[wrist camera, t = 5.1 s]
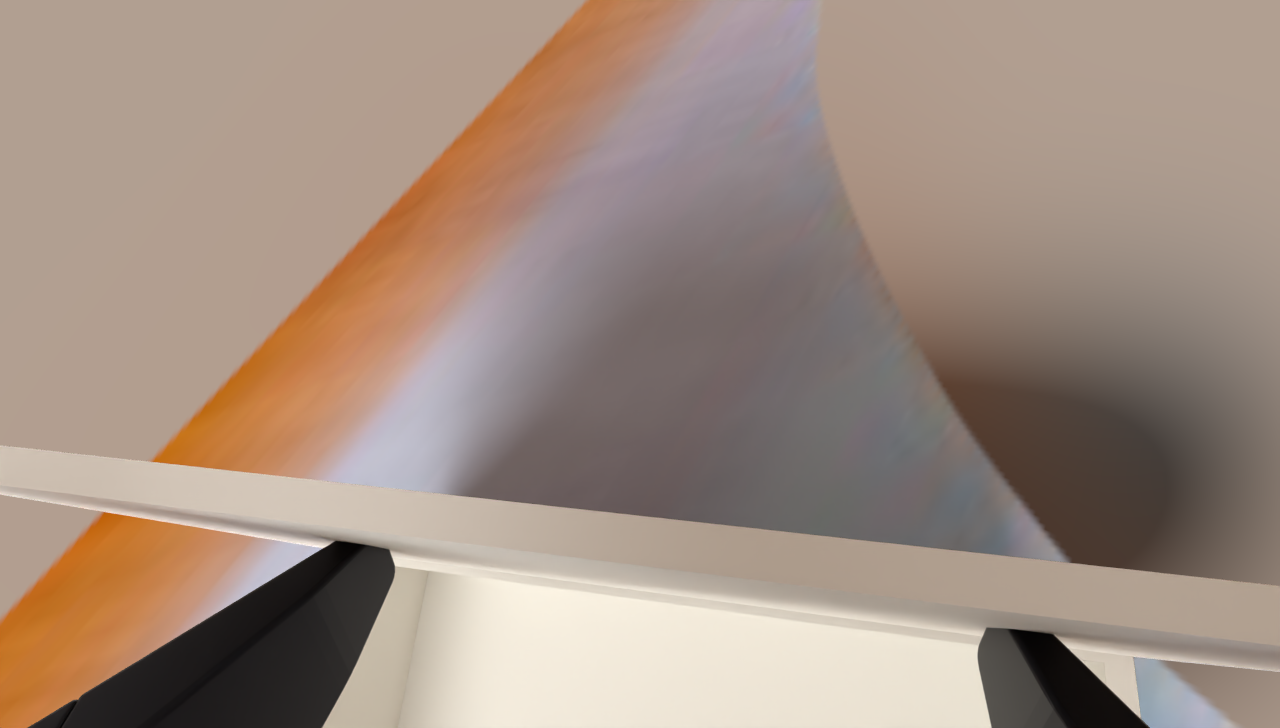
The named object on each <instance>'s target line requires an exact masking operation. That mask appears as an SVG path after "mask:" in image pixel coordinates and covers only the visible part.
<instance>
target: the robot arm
mask: <svg viewBox="0 0 1280 728" xmlns="http://www.w3.org/2000/svg"><path fill="white" fill-rule="evenodd" d="M394 576H395V564H394V561H393V558H392V555H391V552H390V550H389V549H385V548H380V547H375V546H370V545H364V544H357V543H350V542H342V541H334V542H333V543H331V544H329V545H328V546H326V547H325V548H323V549H321V550H320V551H318V552H316V553H315V554H313V555H311V556H310V557H308V558H306V559H305V560H303V561H301V562H300V563H298V564H297V565H295V566H293V567H292V568H290V569H288V570H287V571H285V572H283V573H282V574H280V575H278V576H277V577H275V578H274V579H272V580H270V581H269V582H267V583H265V584H264V585H262V586H260V587H259V588H257V589H255V590H254V591H252V592H251V593H249V594H247V595H246V596H244V597H242V598H241V599H239V600H237V601H236V602H234V603H232V604H231V605H229V606H227V607H226V608H224V609H223V610H221V611H219V612H218V613H216V614H214V615H213V616H211V617H209V618H208V619H206V620H204V621H203V622H201V623H200V624H198V625H196V626H195V627H193V628H191V629H190V630H188V631H186V632H185V633H183V634H181V635H180V636H178V637H177V638H175V639H173V640H172V641H170V642H168V643H167V644H165V645H163V646H162V647H160V648H158V649H157V650H155V651H153V652H152V653H150V654H149V655H147V656H145V657H144V658H142V659H140V660H139V661H137V662H135V663H134V664H132V665H130V666H129V667H127V668H125V669H124V670H122V671H121V672H119V673H117V674H116V675H114V676H112V677H111V678H109V679H107V680H106V681H104V682H102V683H101V684H99V685H97V686H96V687H94V688H93V689H91V690H89V691H88V692H86V693H84V694H83V695H82V696H81V697H80V698H79V700H73V701H71V702H69V703H68V704H66V705H64V706H63V707H61V708H59V709H58V710H56V711H55V712H53V713H51V714H50V715H48V716H46V717H45V718H43V719H41V720H40V721H38V722H36V723H35V724H33V725H31V726H30V727H28V728H322V727H323V726H324V724H325V722H326V720H327V718H328V717H329V715H330V713H331V711H332V709H333V708H334V706H335V704H336V702H337V700H338V699H339V697H340V695H341V693H342V691H343V689H344V688H345V686H346V684H347V682H348V680H349V678H350V676H351V674H352V672H353V670H354V668H355V666H356V664H357V662H358V660H359V657H360V655H361V653H362V651H363V648H364V646H365V644H366V642H367V639H368V637H369V635H370V632H371V630H372V628H373V626H374V623H375V621H376V619H377V617H378V614H379V612H380V610H381V608H382V605H383V603H384V601H385V599H386V596H387V594H388V592H389V590H390V587H391V585H392V583H393V580H394ZM977 658H978V666H979V671H980V676H981V680H982V685H983V690H984V695H985V699H986V704H987V709H988V714H989V718H990V723H991V728H1150V727H1149V726H1148V725H1147V724H1145V723H1144V722H1143V721H1142V720H1141V719H1140V718H1139V717H1138V716H1137V715H1136V714H1135V713H1134V712H1133V711H1132V710H1131V709H1130V708H1129V707H1128V706H1127V705H1126V704H1125V703H1124V702H1123V701H1122V700H1121V699H1120V698H1119V697H1118V696H1117V695H1116V694H1115V693H1114V692H1113V691H1112V690H1110V689H1109V688H1108V687H1107V686H1106V685H1105V684H1104V683H1103V682H1102V681H1101V680H1100V679H1099V678H1098V677H1097V676H1096V675H1095V674H1094V673H1093V672H1092V671H1091V670H1090V669H1089V668H1088V667H1087V666H1086V665H1085V664H1084V663H1083V662H1082V661H1081V660H1080V659H1079V658H1078V657H1077V656H1075V655H1074V654H1073V653H1072V652H1071V651H1070V650H1069V649H1068V648H1067V647H1066V646H1065V645H1064V644H1063V643H1062V642H1061V641H1060V640H1059V639H1058V638H1057V637H1056V636H1055V635H1054V634H1048V633H1040V632H1033V631H1025V630H1017V629H1007V628H986V629H985V632H984V634H983V636H982V639H981V641H980V643H979V646H978V652H977Z"/></svg>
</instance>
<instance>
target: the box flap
mask: <svg viewBox="0 0 1280 728" xmlns="http://www.w3.org/2000/svg"><path fill="white" fill-rule="evenodd" d="M0 494H1V495H8V496H14V497H20V498H25V499H31V500H37V501H44V502H49V503H55V504H62V505H68V506H73V507H80V508H86V509H91V510H97V511H103V512H109V513H115V514H121V515H127V516H133V517H139V518H145V519H151V520H157V521H163V522H169V523H175V524H181V525H187V526H193V527H199V528H205V529H211V530H217V531H223V532H229V533H235V534H241V535H247V536H253V537H259V538H265V539H271V540H277V541H283V542H289V543H295V544H301V545H307V546H313V547H319V548H325V547H326V546H328V545H329V544H331V543H333V542H334V541H342V542H350V543H357V544H364V545H370V546H375V547H380V548H385V549H389V550H390V552H391V555H392V558H398V559H406V560H413V561H421V562H428V563H436V564H443V565H451V566H458V567H466V568H473V569H481V570H488V571H496V572H503V573H511V574H518V575H526V576H533V577H541V578H548V579H556V580H563V581H571V582H578V583H586V584H593V585H600V586H608V587H615V588H623V589H630V590H638V591H645V592H653V593H660V594H668V595H675V596H683V597H690V598H698V599H705V600H713V601H720V602H728V603H735V604H743V605H750V606H758V607H765V608H773V609H780V610H788V611H795V612H803V613H810V614H818V615H825V616H832V617H840V618H847V619H855V620H862V621H870V622H877V623H885V624H892V625H900V626H907V627H915V628H922V629H930V630H937V631H945V632H952V633H960V634H967V635H975V636H983V634H984V632H985V629H986V628H1007V629H1017V630H1025V631H1033V632H1040V633H1048V634H1054V635H1055V636H1056V637H1057V638H1058V639H1059V640H1060V641H1061V642H1062V643H1063V644H1064V645H1065V646H1066V647H1067V648H1072V649H1079V650H1087V651H1094V652H1102V653H1109V654H1117V655H1124V656H1132V657H1140V658H1150V659H1159V660H1169V661H1179V662H1189V663H1198V664H1209V665H1218V666H1228V667H1238V668H1247V669H1257V670H1266V671H1276V672H1280V586H1274V585H1265V584H1256V583H1247V582H1238V581H1229V580H1219V579H1210V578H1202V577H1193V576H1183V575H1174V574H1165V573H1156V572H1147V571H1138V570H1129V569H1119V568H1111V567H1101V566H1092V565H1083V564H1074V563H1065V562H1056V561H1047V560H1038V559H1029V558H1020V557H1011V556H1002V555H993V554H983V553H974V552H965V551H956V550H947V549H938V548H929V547H920V546H911V545H902V544H892V543H883V542H874V541H865V540H856V539H847V538H838V537H829V536H820V535H811V534H802V533H792V532H783V531H774V530H765V529H756V528H747V527H738V526H729V525H720V524H711V523H702V522H692V521H683V520H674V519H665V518H656V517H647V516H638V515H629V514H620V513H611V512H601V511H592V510H583V509H574V508H565V507H556V506H547V505H538V504H529V503H520V502H511V501H501V500H492V499H483V498H474V497H465V496H456V495H447V494H438V493H429V492H420V491H411V490H401V489H392V488H383V487H374V486H365V485H356V484H347V483H338V482H329V481H320V480H310V479H301V478H292V477H283V476H274V475H265V474H256V473H247V472H238V471H229V470H220V469H210V468H201V467H192V466H183V465H174V464H165V463H156V462H147V461H138V460H129V459H119V458H110V457H101V456H92V455H83V454H74V453H65V452H56V451H47V450H38V449H29V448H19V447H10V446H1V445H0Z"/></svg>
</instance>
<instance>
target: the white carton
mask: <svg viewBox="0 0 1280 728" xmlns="http://www.w3.org/2000/svg"><path fill="white" fill-rule="evenodd" d="M393 561H394V564H395V576H394V580H393V583H392V585H391V587H390V590H389V592H388V594H387V596H386V599H385V601H384V603H383V605H382V608H381V610H380V612H379V614H378V617H377V619H376V621H375V623H374V626H373V628H372V630H371V632H370V635H369V637H368V639H367V642H366V644H365V646H364V648H363V651H362V653H361V655H360V657H359V660H358V662H357V664H356V666H355V668H354V670H353V672H352V674H351V676H350V678H349V680H348V682H347V684H346V686H345V688H344V689H343V691H342V693H341V695H340V697H339V699H338V700H337V702H336V704H335V706H334V708H333V709H332V711H331V713H330V715H329V717H328V718H327V720H326V722H325V724H324V726H323V727H322V728H991V723H990V718H989V714H988V709H987V704H986V699H985V695H984V690H983V685H982V680H981V676H980V671H979V666H978V658H977V652H978V646H979V643H980V641H981V639H982V636H975V635H967V634H960V633H952V632H945V631H937V630H930V629H922V628H915V627H907V626H900V625H892V624H885V623H877V622H870V621H862V620H855V619H847V618H840V617H832V616H825V615H818V614H810V613H803V612H795V611H788V610H780V609H773V608H765V607H758V606H750V605H743V604H735V603H728V602H720V601H713V600H705V599H698V598H690V597H683V596H675V595H668V594H660V593H653V592H645V591H638V590H630V589H623V588H615V587H608V586H600V585H593V584H586V583H578V582H571V581H563V580H556V579H548V578H541V577H533V576H526V575H518V574H511V573H503V572H496V571H488V570H481V569H473V568H466V567H458V566H451V565H443V564H436V563H428V562H421V561H413V560H406V559H398V558H393ZM1068 649H1069V650H1070V651H1071V652H1072V653H1073V654H1074V655H1075V656H1077V657H1078V658H1079V659H1080V660H1081V661H1082V662H1083V663H1084V664H1085V665H1086V666H1087V667H1088V668H1089V669H1090V670H1091V671H1092V672H1093V673H1094V674H1095V675H1096V676H1097V677H1098V678H1099V679H1100V680H1101V681H1102V682H1103V683H1104V684H1105V685H1106V686H1107V687H1108V688H1109V689H1110V690H1112V691H1113V692H1114V693H1115V694H1116V695H1117V696H1118V697H1119V698H1120V699H1121V700H1122V701H1123V702H1124V703H1125V704H1126V705H1127V706H1128V707H1129V708H1130V709H1131V710H1132V711H1133V712H1134V713H1135V714H1136V715H1137V716H1138V717H1139V718H1140V719H1141V715H1140V707H1139V699H1138V691H1137V683H1136V674H1135V666H1134V658H1133V657H1132V656H1124V655H1117V654H1109V653H1102V652H1094V651H1087V650H1079V649H1072V648H1068Z"/></svg>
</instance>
